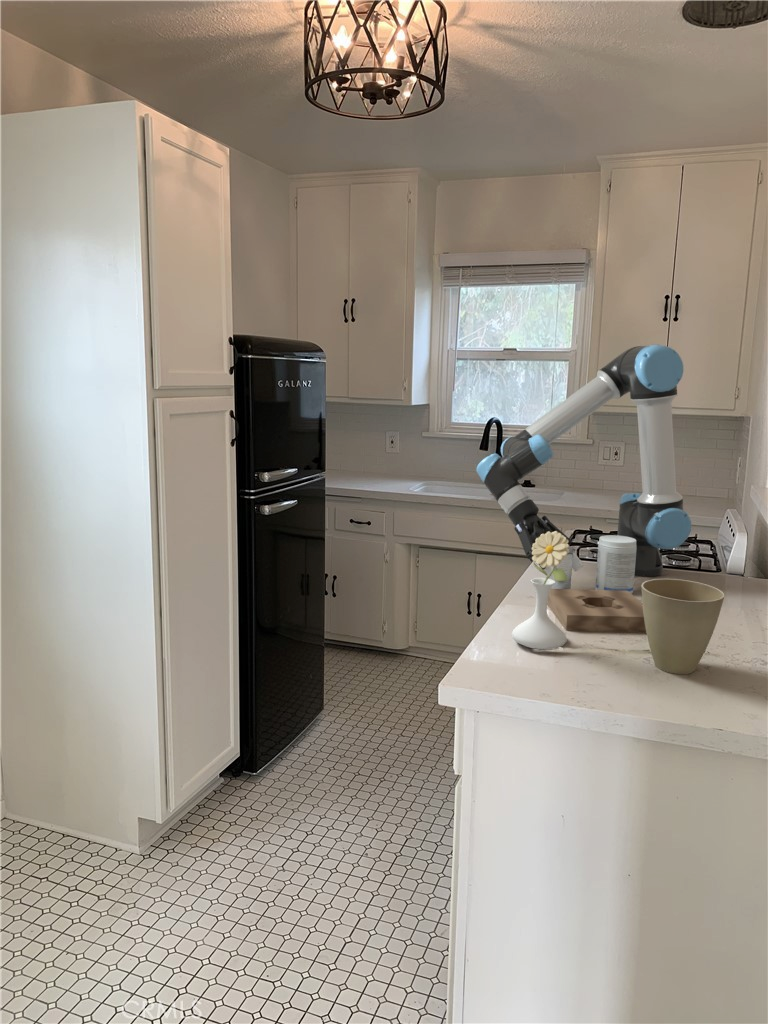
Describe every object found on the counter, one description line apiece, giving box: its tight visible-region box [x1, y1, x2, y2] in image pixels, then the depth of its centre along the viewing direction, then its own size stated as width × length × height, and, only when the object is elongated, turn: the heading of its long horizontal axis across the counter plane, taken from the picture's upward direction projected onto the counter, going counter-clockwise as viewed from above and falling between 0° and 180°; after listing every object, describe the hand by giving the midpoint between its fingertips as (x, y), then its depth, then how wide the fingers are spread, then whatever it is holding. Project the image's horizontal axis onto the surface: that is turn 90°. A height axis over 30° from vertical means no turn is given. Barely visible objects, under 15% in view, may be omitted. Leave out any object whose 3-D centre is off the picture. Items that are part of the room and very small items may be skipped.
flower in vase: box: [511, 531, 570, 650], centre depth 152 cm, size 13×11×25 cm
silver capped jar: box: [548, 545, 574, 589], centre depth 188 cm, size 6×6×13 cm
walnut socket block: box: [547, 588, 647, 634], centre depth 171 cm, size 20×20×4 cm
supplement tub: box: [594, 534, 637, 594], centre depth 193 cm, size 10×10×15 cm
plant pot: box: [641, 578, 725, 675], centre depth 144 cm, size 15×15×16 cm
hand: (567, 573), depth 187 cm, fingers open, 13 cm apart
